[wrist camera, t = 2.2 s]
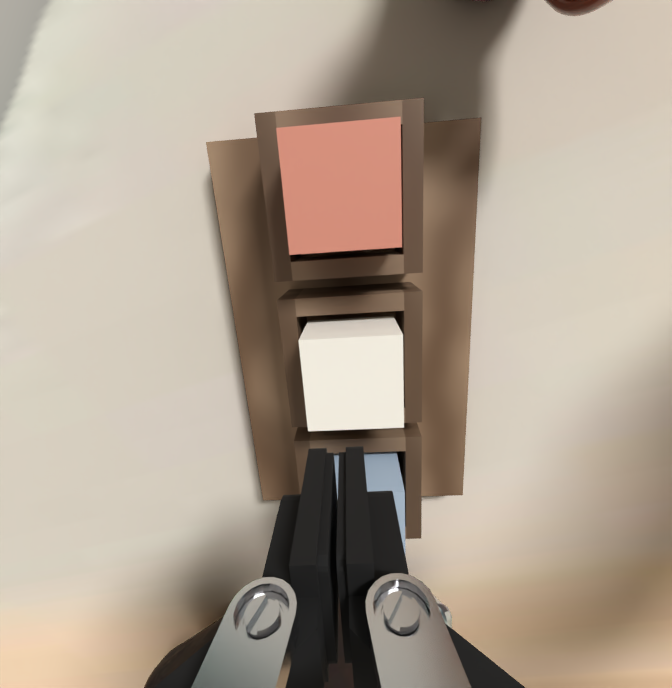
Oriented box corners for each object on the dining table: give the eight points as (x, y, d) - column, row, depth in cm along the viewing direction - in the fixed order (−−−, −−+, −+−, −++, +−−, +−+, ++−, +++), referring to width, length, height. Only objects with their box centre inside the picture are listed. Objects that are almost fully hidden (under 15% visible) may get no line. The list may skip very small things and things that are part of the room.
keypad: (469, 127, 22) (512, 89, 16) (455, 478, 29) (480, 537, 24) (218, 150, 22) (173, 121, 17) (268, 483, 30) (249, 541, 24)
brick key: (389, 142, 18) (400, 116, 14) (391, 244, 19) (402, 247, 15) (292, 150, 18) (276, 127, 14) (301, 250, 19) (289, 255, 15)
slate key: (395, 448, 23) (404, 491, 19) (396, 510, 24) (405, 561, 21) (320, 451, 23) (314, 493, 19) (326, 511, 25) (321, 562, 21)
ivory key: (393, 316, 20) (402, 334, 16) (394, 393, 22) (403, 427, 18) (308, 320, 20) (298, 340, 17) (315, 397, 22) (308, 431, 18)
